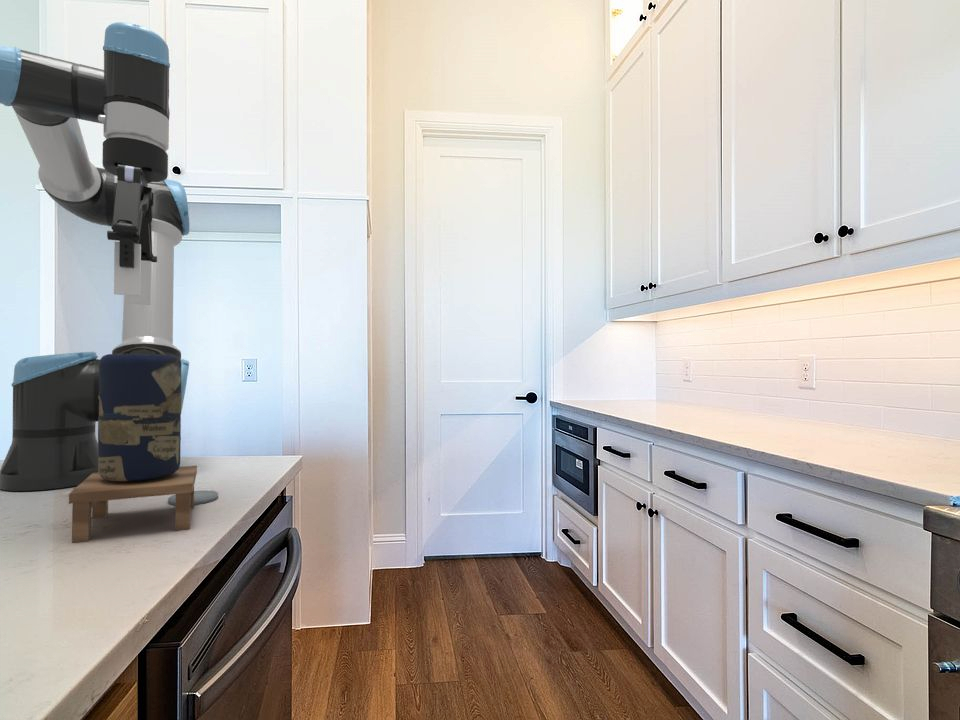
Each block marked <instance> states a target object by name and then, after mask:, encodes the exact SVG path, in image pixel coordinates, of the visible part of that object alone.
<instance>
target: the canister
mask: <svg viewBox="0 0 960 720" xmlns="http://www.w3.org/2000/svg"><path fill="white" fill-rule="evenodd" d="M134 350H149V351H152V352H155V353H156V354H130V352H132V351H134ZM181 360H182V359H181ZM181 360H180V358H179V357H178V356H176V355H167V354H164V353H163V352H161V351H159V350H156V349H153V348H148V347H136V348H132V349H129V350H126V351H123V352H121V353H120V354H112V353H109V354H105V355H102V356H101V357H100V363H99V396H98V398H99V417H98V421H97V442H98V455H99V457H98V460H99V462H98V472H99V475H100V476H101V477H102V478H104V479H106V480H110V481H137V480H147V479H154V478H159V477H164V476H167V475H170V474H173V473H174V472H176V471H177V470H178V469H179V467H181V440H182V437H181V433H182V432H181V431H182V429H181V428H182V422H181V421H182V418H181V417H182V416H181V415H182V411H181Z"/></svg>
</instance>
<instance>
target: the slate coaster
mask: <svg viewBox="0 0 960 720" xmlns="http://www.w3.org/2000/svg"><path fill="white" fill-rule="evenodd" d="M218 499H219V492H217V491H215V490H214V491H213V490H194V506H196V505H203V504H206V503H212V502H214V501H216V500H218ZM167 503H168V504H169V505H171V506H176V494H173V495H171V496H170V495H169V496H168V498H167Z"/></svg>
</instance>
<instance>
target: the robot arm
mask: <svg viewBox="0 0 960 720" xmlns="http://www.w3.org/2000/svg"><path fill="white" fill-rule="evenodd" d="M104 31H105V32H104V40H103V43H104V44H103V46H102V50H103V69H101V68H98V67H94V66H89V65H85V64H81V63H76V62H72V61H68V60H65V59H61V58H55V57H53V56H47V55H43V54H40V53H36V52H32V51H27V50H24V49H20V48H19V47H16V46H14V47H12V46H5V45H1V44H0V104H1V105H4V106H5V107H12V109H13V111H14V113H15V116H16V118H17V119H18V122H19V124H20V126H21V128H22V131H23V132H24V134H25V136H26V138H27V139H26V140H27V141H28V143H29V146H30V148H31V150H32V151H33V154H34V156H35V158H36V160H37V162H38V164H39V166H38V172H37V173H38V179H39V182H40V184H41V185H42V188H43V189H44V191H45V192H46V193H47V195H48V196H49V197H50V198H51V199H52V200H53V201H54V202H55V203H56V204H57V205H59V207H62V208H63V209H64V210H66V211H67V212H69V213H71V214H73V215H74V216H76V217H78V218H80V219H82V220H84V221H87V222H90V223H92V224H95V225H99V226H107V227H111V230H107V231H106V233H107V234H106V235H107V236H106V237H107V240H109V241H114V250H113V251H114V255H113V256H114V257H113V258H114V259H113V260H114V262H113V267H114V268H113V271H114V272H113V295H119V296H120V295H121V296H123V308H122V309H123V311H122V331H121V332H122V333H121V334H122V335H121V343H119V344H118V345H117V346H115V347H114V348H113V349H112V351H111V354H120V353H121V352H123V351H126V350H129V349H132V348H136V347H148V348H153V349H156V350H159V351H161V352H163V353H164V354H167V355H176V356H178V357H179V358H180V360H181V412H182V410H183V406H184V400H185V394H186V389H187V383H188V382H187V380H188V375H189V368H190V362H189V360H186V359H184V358H182V351H181V350H180V349H179V348H178V347H176V346H175V345H174V338H173V336H174V335H173V334H174V276H175V275H174V274H175V272H174V271H175V270H174V268H175V267H174V263H175V262H174V261H175V247H176V246H177V245H179V244H181V242H182V238H183V237H184V236H188V235H189V234H190V214H189V205H188V203H189V202H188V197H187V193H186V189H185V187H184V186H183V185H182V183H181V182H179V181H176V180H172V179H168V178H169V177H168V175H169V173H168V172H169V154H168V153H167V151H168V150H169V146H170V145H169V142H170V140H169V139H170V136H169V135H170V114H171V113H170V106H169V105H170V104H169V103H170V102H169V101H170V68H171V63H170V51H169V47H168V44H167V42H166V41H165V39H163V37H161V35H159V34H158V33H156V32H154V31H153V30H151V29H149V28H148V27H145V26H142V25H138V24H136V23H132V22H126V21H125V22H124V21H117V22H113V23H111V24H108V25H107V27H106V28H105V30H104ZM79 120H83V121H87V122H92V123H97V124H102V125H103V137H104V139H105V140H104V141H103V142H102V161H101V162H102V167H97V166H95V164H93V163H92V162H91V161H90V158H89V155H88V151H87V147H86V144H85V140H84V137H83V134H82V133H83V132H82V131H81V126H80V123H79ZM130 354H156V353H155V352H152V351H149V350H134V351H132V352H130ZM98 358H99V356H98V355H97V352H95V351H84V352H83V351H82V352H69V353H68V352H67V353H59V354H57V353H56V354H45V355H37V356H36V355H35V356H26V357H24V358H21V359H20V360H18V361H17V362H16V363H15V364H14V368H13V369H14V370H13V378H12V379H13V380H12V383H11V387H12V437H11V438H12V441H11V444H10V446H9V449H8V451H7V453H6V456H5V458H4V460H3V463H2V465H1V467H0V490H3V491H12V492H14V491H15V492H23V491H24V492H28V491H29V492H30V491H45V490H53V489H54V490H55V489H63V488H68V487H77V486H78V485H80V484H81V483H82V482H83V481H84V480H85V479H86V478H88V477H89V476H90V475H91V474H92V473H98V462H99V460H98V457H99V455H98V438H97V436H96V424H97V423H98V417H99V398H98V396H99V363H100V359H101V358H100V359H98ZM96 422H97V423H96Z"/></svg>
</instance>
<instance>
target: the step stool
mask: <svg viewBox="0 0 960 720" xmlns="http://www.w3.org/2000/svg"><path fill="white" fill-rule="evenodd" d="M197 469H198V466H197V465H190V466H189V465H188V466H187V465H186V466H184V465H183V466H180V467H179V469H178V470H177V471H176V472H174V473H173V474H170V475H167V476H164V477H159V478H154V479H147V480H137V481H110V480H106V479H104V478H102V477H101V476H100V475H99V472H98V473H92V474H91V475H90V476H89V477H88V478H86V479H85V480H84V481H83V482H82V483H81V484H80V485H76V486H75V488H74V489H72V491H71V492H69V493H68V504H69V505H70V504H72V506H71V507H72V508H71V509H72V510H71V513H72V514H71V515H72V516H71V519H72V521H71V523H72V524H71V543H72V544H73V543H81V542H89V540H90V539H91V538H92V519H99V518H106V517H107V516H108V515H109V501H117V500H126V499H127V500H128V499H136V498H149V497H158V496H159V497H160V496H168V495H169V496H170V495H171V496H172V495H175V494H176V505H175V520H174V521H175V522H174V523H175V526H174V527H175V531H184V530H185V531H186V530H190V528H191V509H194V506H195V505H194V491H195V483H196V479H197V475H198V473H197V472H198V470H197Z"/></svg>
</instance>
